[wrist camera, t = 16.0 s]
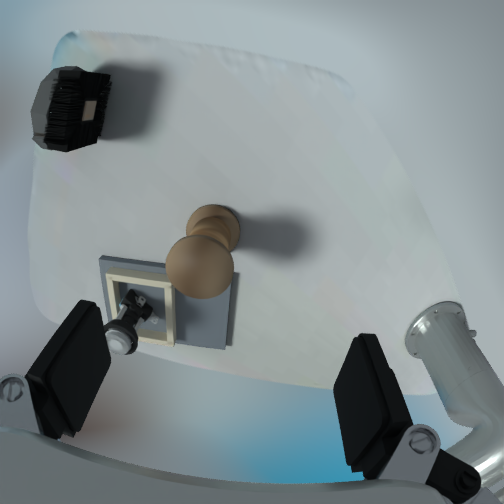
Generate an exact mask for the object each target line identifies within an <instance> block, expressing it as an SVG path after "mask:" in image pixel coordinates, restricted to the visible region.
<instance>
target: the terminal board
mask: <svg viewBox="0 0 504 504" xmlns="http://www.w3.org/2000/svg"><path fill="white" fill-rule="evenodd" d="M99 265H100V273H101V280H102V287H103V293H104V299H105V305H106V311H107V316H108V321H109V322H110V321H112V320H113V319H116V317H117V315H118V314H119V312H120V310H121V309H120V306H119V304H120V302H121V301H122V299H123V297H124V296H125V295H126V294H127V292H128V291H129V290H130V289H132V290H134V291H135V294H136V295H137V296H138V297H140V296H142V297H144V298H145V299H146V301H145V302H146V303H147V304H149V305H150V306H151V307H152V308H153V310H152V312H154V313H155V315H156V316H158V317H159V318H160V319H159V320H158V323H157V324H154V323H153V322H156V321H155V320H153V322H151V321H149V320H148V319H147V320H146V321H145V322H144V323H143V324H142V325H140V327H139V329H138V331H137V335H138V338H139V339H138V341H141V342H147V343H153V344H158V345H164V346H170V347H174V345H175V343H178V344H185V345H192V346H199V347H206V348H214V349H222V350H225V347H226V336H227V325H228V313H229V302H230V291H231V283H230V285H229V287H228V288H227V289H226V290H225V291H224V292H223V293H222V294H220V295H218V296H216V297H213V298H209V299H196V298H192V297H189V296H186V295H184V294H183V293H181V292H180V291H178V290H177V289H176V288H175V287H174V286H173V285H172V283H171V282H170V280H169V278H168V276H167V273H166V267H165V266H166V264H163V263H155V262H147V261H139V260H132V259H124V258H117V257H109V256H101V257H100V258H99ZM141 299H142V298H141ZM142 300H143V299H142ZM143 301H144V300H143ZM155 318H157V317H155ZM133 327H134V326H133Z"/></svg>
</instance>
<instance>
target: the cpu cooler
mask: <svg viewBox="0 0 504 504" xmlns="http://www.w3.org/2000/svg"><path fill="white" fill-rule="evenodd" d="M110 76H111V75H108V74H101V73H94V72H87V71H85V70H83V69H81V68H79V67H77V66H65V67H60V68H55V69H53V70H52V71H51V72H50V73H49V74H48V75H47V76H46V78H45V79H44V80H43V81H42V82H41V84H40V86H39V89H38V92H37V95H36V97H35V100H34V103H33V106H32V109H31V117H32V125H33V132H34V136H33V138H32V139H33V140H34V141H35V142H36V143H37V144H38V145H39V146H40V147H41V148H43V149H48V150H57V151H62V152H69V151H72V150H75V149H79V148H82V147H85V146H88V145H92V144H95V143H97V139H98V136H101V135H100V134H101V133H100V132H101V128H100V127H103V125H102V124H103V122H104V121H103V120H102V118H104V117H105V116H103V115H105V114H103V113H105V112H104V111H101V110H103V108H106V107H107V105H106V104H107V102H104V101H102V100H106V99H108V98H107V97H104V96H108V94H109V93H108V94H102V95H101V93H106V92H104V91H108V90H109V89H110V88H109V87H106V85H107V84H108V83H109V80H110ZM111 85H112V83H111V84H109V85H107V86H111ZM61 88H62V89H61ZM49 109H50V110H49ZM50 112H52V113H50Z"/></svg>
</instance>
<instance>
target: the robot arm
mask: <svg viewBox="0 0 504 504" xmlns="http://www.w3.org/2000/svg"><path fill="white" fill-rule="evenodd" d="M475 336H476V331H475V330H468V329H467V327H466V326H465V314H464V312H463V310H462V309H461V308H460V306H459V305H457V304H455V303H452V302H443V303H439V304H436V305H434V306H432V307H430V308H428V309H427V310H425V311H424V312H423V313H421V314H420V315H419V316H418V317H417V318H416V319H415V320H414V322H413V323H412V324H411V326H410V328H409V330H408V331H407V334H406V338H405V345H406V348H407V350H408V352H409V354H410V355H411V356H413V357H415V358H419V359H422V361H423V363H424V365H425V367H426V369H427V371H428V373H429V375H430V377H431V379H432V381H433V383H434V386H435V388H436V390H437V392H438V394H439V396H440V398H441V401H442V403H443V405H444V407H445V410H446V412H447V414H448V416H449V417H450V419H451V420H453V421H454V422H455V423H457V424H459V425H462V426H466V427H471V428H473V430H472V432H471V433H469V434H468V435H467V436H465V438H463V439H462V440H460V441H459V442H457V443H456V444H455V445H453V446H452V447H450V448H448V449H447V450H446V451H444V450H442V449H440V445H441V443H440V438H439V436H438V434H437V433H436V431H435V430H434V429H432V428H431V427H429V426H427V425H424V424H417V425H413V422H412V419H411V416H410V414H409V411H408V408H407V406H406V403H405V400H404V397H403V395H402V392H401V389H400V387H399V384H398V382H397V379H396V377H395V374H394V372H393V370H392V369H391V368H389V365H388V363H387V360H386V358H385V355H384V353H383V350H382V348H381V346H380V343H379V341H378V338H377V336H376V335H375V334H366V333H361V334H359V335H358V337H354V339H353V341H352V343H351V346H350V348H349V351H348V353H347V356H346V358H345V361H344V363H343V365H342V368H341V370H340V372H339V375H338V377H337V379H336V382H335V384H334V388H333V391H334V392H333V393H334V398H335V403H336V408H337V413H338V419H339V424H340V429H341V435H342V440H343V446H344V452H345V458H346V463H347V465H348V466H351V470H352V473H353V472H362V471H363V476H364V477H365V478H364V480H362V481H349V482H335V483H313V484H312V483H311V484H310V483H309V484H271V483H251V482H237V481H226V480H216V479H208V478H201V477H194V476H188V475H181V474H176V473H171V472H165V471H160V470H155V469H151V468H147V467H142V466H138V465H134V464H130V463H126V462H122V461H119V460H115V459H112V458H108V457H105V456H102V455H98V454H95V453H92V452H89V451H86V450H83V449H80V448H77V447H74V446H71V445H68V444H65V443H63V442H61V441H60V438H61V435H62V434H65V435H68V436H70V437H74V435H75V433H76V431H77V432H79V431H80V430H81V428H82V426H83V423H84V421H85V419H86V417H87V414H88V412H89V410H90V408H91V405H92V403H93V401H94V399H95V397H96V394H97V392H98V390H99V388H100V386H101V384H102V381H103V379H104V377H105V375H106V373H107V371H108V369H109V367H110V364H111V356H110V352H109V348H108V344H107V339H106V335H105V330H104V325H103V321H102V316H101V311H100V308H99V307H97V305H96V303H95V302H91V301H86V300H80V301H79V302H78V303H77V304H76V306H75V307H74V308H73V310H72V311H71V312H70V313H69V315H68V316H67V317H66V319H65V320H64V321H63V323H62V324H61V325H60V327H59V328H58V329H57V331H56V332H55V333H54V335H53V336H52V338H51V339H50V340H49V342H48V343H47V345H46V346H45V347H44V349H43V350H42V352H41V353H40V355H39V356H38V358H37V359H36V361H35V362H34V363H33V365H32V366H31V368H30V369H29V371H28V372H27V374H26V375H25V377H23V376H21V375H18V374H8V375H6V376H4V377H2V378H1V379H0V504H504V488H502V489H500V490H499V491H497V492H496V493H494V494H493V493H492V492H491V491H490V490H489V489H488V488H489V487H491V486H493V485H494V484H496V483H497V482H499V481H500V480H502V479H503V478H504V386H503V384H502V383H501V381H500V380H499V378H498V377H497V375H496V373H495V372H494V370H493V369H492V367H491V365H490V364H489V362H488V361H487V359H486V358H485V356H484V355H483V353H482V352H481V350H480V349H479V347H478V346H477V345H476V343H475V340H474V339H472V337H475Z"/></svg>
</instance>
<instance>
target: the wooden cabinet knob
mask: <svg viewBox="0 0 504 504" xmlns="http://www.w3.org/2000/svg"><path fill="white" fill-rule="evenodd" d="M186 235H187V236H186V237H184V238H182V239H180V240H179V241H177V242H176V243H175V244H174V246H173V247H172V248H171V250H170V252H169V254H168V256H167V258H166V266H165V267H166V273H167V276H168V278H169V280H170V282H171V283H172V285H173V286H174V287H175V288H176V289H177V290H178V291H180V292H181V293H183V294H184V295H186V296H189V297H192V298H196V299H209V298H213V297H216V296H218V295H220V294H222V293H223V292H224V291H225V290H226V289H227V288H228V287H229V285H230V283H231V281H232V278H233V272H234V262H233V258H232V256H231V254H230V252H231V251H232V250H233V249H234V248H235V246H236V245H237V243H238V240H239V235H240V226H239V222H238V220H237V218H236V216H235V215H234V214H233V213H232V212H231V211H230V210H229V209H227V208H225V207H223V206H220V205H205V206H202V207H200V208H199V209H197V210H196V211H195V212H194V213H193V214H192V215H191V217H190V219H189V220H188V223H187V226H186Z"/></svg>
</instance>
